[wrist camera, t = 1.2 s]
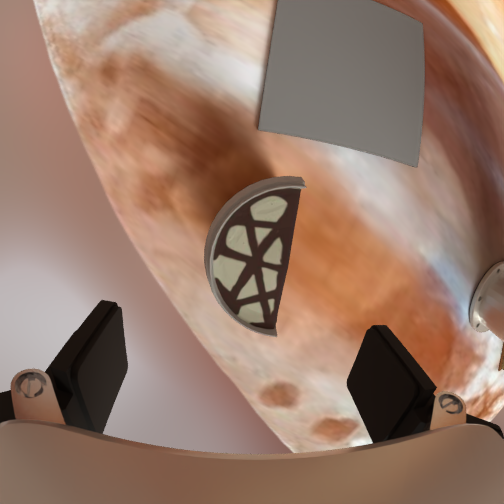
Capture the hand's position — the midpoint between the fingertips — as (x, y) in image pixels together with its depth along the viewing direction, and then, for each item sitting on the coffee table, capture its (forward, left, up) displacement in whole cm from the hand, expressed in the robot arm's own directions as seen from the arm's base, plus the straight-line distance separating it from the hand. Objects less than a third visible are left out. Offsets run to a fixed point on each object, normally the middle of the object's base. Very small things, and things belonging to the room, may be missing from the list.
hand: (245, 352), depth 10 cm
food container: (0, 0, -20) cm, 20 cm away
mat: (-9, -20, -20) cm, 30 cm away
